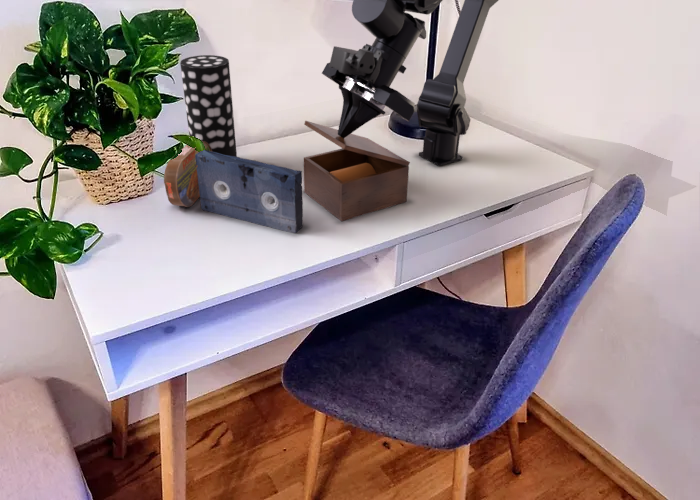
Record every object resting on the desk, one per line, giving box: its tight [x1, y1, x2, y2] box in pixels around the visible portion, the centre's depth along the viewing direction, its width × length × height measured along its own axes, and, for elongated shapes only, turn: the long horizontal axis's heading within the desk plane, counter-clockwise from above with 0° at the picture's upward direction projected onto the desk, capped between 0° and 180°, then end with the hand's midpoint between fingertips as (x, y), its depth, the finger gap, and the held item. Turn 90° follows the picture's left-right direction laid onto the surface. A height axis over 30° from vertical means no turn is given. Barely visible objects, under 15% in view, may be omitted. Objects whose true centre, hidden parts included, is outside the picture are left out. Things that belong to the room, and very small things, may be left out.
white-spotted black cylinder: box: [179, 54, 238, 157], centre depth 114 cm, size 8×8×20 cm
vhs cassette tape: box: [195, 150, 304, 234], centre depth 100 cm, size 18×3×10 cm, turn 64°
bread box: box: [303, 148, 410, 222], centre depth 108 cm, size 13×12×7 cm
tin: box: [163, 141, 212, 208], centre depth 107 cm, size 15×3×8 cm, turn 168°
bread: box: [329, 163, 376, 182], centre depth 108 cm, size 8×5×5 cm
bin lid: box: [303, 120, 411, 167], centre depth 105 cm, size 14×12×1 cm
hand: (340, 136), depth 102 cm, fingers closed
